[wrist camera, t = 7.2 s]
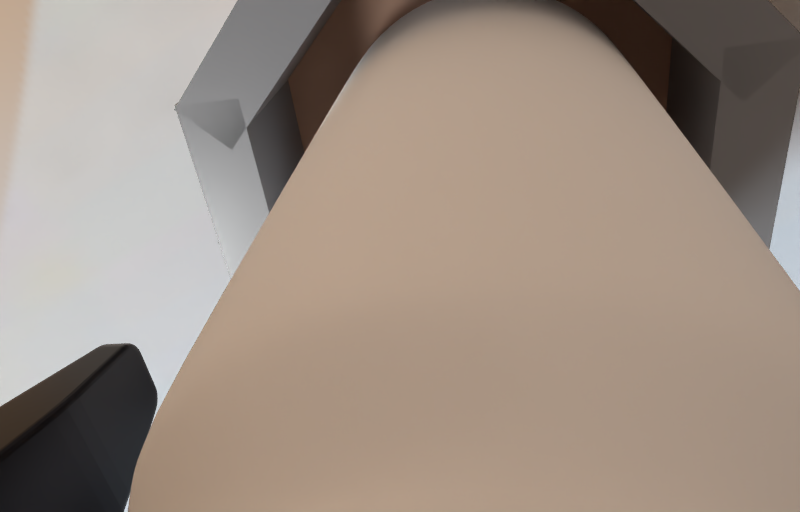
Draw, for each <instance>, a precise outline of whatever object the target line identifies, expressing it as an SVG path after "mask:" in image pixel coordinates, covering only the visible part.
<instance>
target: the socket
mask: <svg viewBox="0 0 800 512" xmlns="http://www.w3.org/2000/svg"><path fill="white" fill-rule="evenodd" d="M429 1H432V0H238V1H237V3H236V4H235V6H234V8H233V9H232V11H231V13H230V15H229V16H228V18H227V20H226V22H225V23H224V25H223V27H222V28H221V30H220V32H219V34H218V35H217V37H216V39H215V40H214V42H213V44H212V46H211V47H210V49H209V51H208V53H207V54H206V56H205V58H204V59H203V61H202V63H201V65H200V66H199V68H198V70H197V71H196V73H195V75H194V77H193V78H192V80H191V82H190V84H189V85H188V87H187V89H186V90H185V92H184V94H183V96H182V97H181V99H180V101H179V102H178V103H177V104H176V105H175V109H174V110H175V111H177V114H178V117H179V120H180V124H181V127H182V130H183V133H184V136H185V139H186V142H187V145H188V148H189V151H190V154H191V158H192V161H193V164H194V167H195V170H196V173H197V176H198V179H199V182H200V185H201V189H202V192H203V195H204V198H205V201H206V204H207V207H208V210H209V213H210V216H211V220H212V223H213V226H214V229H215V232H216V235H217V238H218V241H219V244H220V247H221V251H222V254H223V257H224V260H225V263H226V266H227V269H228V272H229V275H230V278H232V277H233V275H234V273H235V272H236V270H237V268H238V266H239V265H240V263H241V261H242V259H243V258H244V256H245V254H246V252H247V251H248V249H249V247H250V246H251V244H252V242H253V240H254V239H255V237H256V235H257V233H258V232H259V230H260V228H261V227H262V225H263V223H264V221H265V220H266V218H267V216H268V214H269V213H270V211H271V209H272V208H273V206H274V204H275V202H276V201H277V199H278V197H279V196H280V194H281V192H282V190H283V189H284V187H285V185H286V184H287V182H288V180H289V178H290V177H291V175H292V173H293V172H294V170H295V168H296V167H297V165H298V163H299V161H300V160H301V158H302V156H303V155H304V153H305V151H306V149H307V148H308V146H309V144H310V143H311V141H312V139H313V138H314V136H315V134H316V133H317V131H318V129H319V127H320V126H321V124H322V122H323V121H324V119H325V117H326V116H327V114H328V112H329V110H330V109H331V107H332V105H333V104H334V102H335V100H336V99H337V97H338V95H339V94H340V92H341V90H342V89H343V87H344V85H345V84H346V82H347V81H348V79H349V77H350V76H351V74H352V73H353V71H354V69H355V68H356V66H357V65H358V63H359V62H360V60H361V59H362V57H363V56H364V55H365V53H366V52H367V50H368V49H369V48H370V47H371V45H372V44H373V43H374V42H375V41H376V40H377V39H378V38H379V37H380V36H381V34H382V33H384V32H385V31H386V30H387V29H388V28H389V27H390V26H391V25H392V24H394V23H395V22H396V21H397V20H399V19H400V18H401V17H403V16H404V15H406V14H407V13H409V12H410V11H412V10H414V9H415V8H417V7H419V6H421V5H423V4H425V3H427V2H429ZM557 1H559V2H561V3H563V4H565V5H567V6H569V7H571V8H572V9H574V10H576V11H577V12H579V13H580V14H582V15H583V16H585V17H586V18H587V19H589V20H590V21H591V22H592V23H594V24H595V25H596V26H597V27H598V28H599V29H600V30H601V31H602V32H603V33H604V34H605V35H606V36H607V37H608V38H609V39H610V40H611V42H612V43H613V44H614V45H615V46H616V47H617V49H618V50H619V51H620V52H621V54H622V55H623V56H624V57H625V59H626V60H627V61H628V62H629V64H630V65H631V66H632V67H633V69H634V70H635V71H636V73H637V74H638V75H639V77H640V78H641V79H642V80H643V82H644V83H645V84H646V86H647V87H648V88H649V90H650V91H651V92H652V94H653V95H654V96H655V98H656V99H657V100H658V102H659V103H660V104H661V105H662V107H663V108H664V109H665V111H666V112H667V113H668V115H669V116H670V117H671V119H672V120H673V121H674V123H675V124H676V125H677V127H678V128H679V129H680V131H681V132H682V133H683V135H684V136H685V137H686V139H687V140H688V141H689V143H690V144H691V145H692V147H693V148H694V149H695V151H696V152H697V153H698V155H699V156H700V157H701V159H702V160H703V161H704V163H705V164H706V165H707V167H708V168H709V169H710V171H711V172H712V173H713V175H714V176H715V177H716V179H717V180H718V181H719V183H720V184H721V185H722V187H723V188H724V189H725V191H726V192H727V193H728V195H729V196H730V197H731V199H732V200H733V202H734V203H735V204H736V206H737V207H738V208H739V210H740V211H741V212H742V214H743V215H744V216H745V218H746V219H747V220H748V222H749V223H750V225H751V226H752V227H753V229H754V230H755V231H756V233H757V234H758V235H759V237H760V238H761V239H762V241H763V242H764V243H765V245H766V246H767V247H768V249H769V248H770V243H771V237H772V232H773V227H774V221H775V216H776V211H777V205H778V200H779V195H780V189H781V184H782V179H783V173H784V168H785V163H786V157H787V152H788V147H789V141H790V136H791V131H792V125H793V120H794V115H795V109H796V104H797V99H798V93H799V88H800V32H799V31H798V30H797V29H796V28H795V27H794V26H793V25H792V24H791V23H790V22H789V21H788V20H787V19H786V18H785V17H784V16H783V15H782V14H781V13H780V12H779V11H778V10H777V9H776V8H775V7H774V6H773V5H772V4H771V3H770V2H769V1H768V0H557Z"/></svg>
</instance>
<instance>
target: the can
mask: <svg viewBox="0 0 800 512" xmlns="http://www.w3.org/2000/svg"><path fill="white" fill-rule="evenodd" d="M128 512H800V291H799V290H798V288H797V287H796V285H795V284H794V283H793V281H792V280H791V279H790V277H789V276H788V274H787V273H786V272H785V270H784V269H783V268H782V266H781V265H780V264H779V262H778V261H777V260H776V258H775V257H774V256H773V254H772V253H771V252H770V250H769V249H768V247H767V246H766V245H765V243H764V242H763V241H762V239H761V238H760V237H759V235H758V234H757V233H756V231H755V230H754V229H753V227H752V226H751V225H750V223H749V222H748V220H747V219H746V218H745V216H744V215H743V214H742V212H741V211H740V210H739V208H738V207H737V206H736V204H735V203H734V202H733V200H732V199H731V197H730V196H729V195H728V193H727V192H726V191H725V189H724V188H723V187H722V185H721V184H720V183H719V181H718V180H717V179H716V177H715V176H714V175H713V173H712V172H711V171H710V169H709V168H708V167H707V165H706V164H705V163H704V161H703V160H702V159H701V157H700V156H699V155H698V153H697V152H696V151H695V149H694V148H693V147H692V145H691V144H690V143H689V141H688V140H687V139H686V137H685V136H684V135H683V133H682V132H681V131H680V129H679V128H678V127H677V125H676V124H675V123H674V121H673V120H672V119H671V117H670V116H669V115H668V113H667V112H666V111H665V109H664V108H663V107H662V105H661V104H660V103H659V102H658V100H657V99H656V98H655V96H654V95H653V94H652V92H651V91H650V90H649V88H648V87H647V86H646V84H645V83H644V82H643V80H642V79H641V78H640V77H639V75H638V74H637V73H636V71H635V70H634V69H633V67H632V66H631V65H630V64H629V62H628V61H627V60H626V59H625V57H624V56H623V55H622V54H621V52H620V51H619V50H618V49H617V47H616V46H615V45H614V44H613V43H612V42H611V40H610V39H609V38H608V37H607V36H606V35H605V34H604V33H603V32H602V31H601V30H600V29H599V28H598V27H597V26H596V25H595V24H594V23H592V22H591V21H590V20H589V19H587V18H586V17H585V16H583V15H582V14H580V13H579V12H577V11H576V10H574V9H572V8H571V7H569V6H567V5H565V4H563V3H561V2H559V1H557V0H432V1H429V2H427V3H425V4H423V5H421V6H419V7H417V8H415V9H414V10H412V11H410V12H409V13H407V14H406V15H404V16H403V17H401V18H400V19H399V20H397V21H396V22H395V23H394V24H392V25H391V26H390V27H389V28H388V29H387V30H386V31H385V32H384V33H382V34H381V36H380V37H379V38H378V39H377V40H376V41H375V42H374V43H373V44H372V45H371V47H370V48H369V49H368V50H367V52H366V53H365V55H364V56H363V57H362V59H361V60H360V62H359V63H358V65H357V66H356V68H355V69H354V71H353V73H352V74H351V76H350V77H349V79H348V81H347V82H346V84H345V85H344V87H343V89H342V90H341V92H340V94H339V95H338V97H337V99H336V100H335V102H334V104H333V105H332V107H331V109H330V110H329V112H328V114H327V116H326V117H325V119H324V121H323V122H322V124H321V126H320V127H319V129H318V131H317V133H316V134H315V136H314V138H313V139H312V141H311V143H310V144H309V146H308V148H307V149H306V151H305V153H304V155H303V156H302V158H301V160H300V161H299V163H298V165H297V167H296V168H295V170H294V172H293V173H292V175H291V177H290V178H289V180H288V182H287V184H286V185H285V187H284V189H283V190H282V192H281V194H280V196H279V197H278V199H277V201H276V202H275V204H274V206H273V208H272V209H271V211H270V213H269V214H268V216H267V218H266V220H265V221H264V223H263V225H262V227H261V228H260V230H259V232H258V233H257V235H256V237H255V239H254V240H253V242H252V244H251V246H250V247H249V249H248V251H247V252H246V254H245V256H244V258H243V259H242V261H241V263H240V265H239V266H238V268H237V270H236V272H235V273H234V275H233V277H232V278H231V280H230V282H229V284H228V285H227V287H226V289H225V291H224V292H223V294H222V296H221V298H220V299H219V301H218V303H217V305H216V306H215V308H214V310H213V312H212V314H211V315H210V317H209V319H208V321H207V322H206V324H205V326H204V328H203V329H202V331H201V333H200V335H199V336H198V338H197V340H196V342H195V344H194V345H193V347H192V349H191V351H190V352H189V354H188V356H187V358H186V359H185V361H184V363H183V365H182V367H181V369H180V371H179V372H178V374H177V376H176V378H175V380H174V382H173V384H172V386H171V388H170V389H169V391H168V393H167V395H166V397H165V399H164V401H163V403H162V405H161V406H160V408H159V410H158V412H157V414H156V417H155V419H154V421H153V423H152V426H151V428H150V430H149V433H148V435H147V438H146V440H145V442H144V445H143V447H142V450H141V452H140V455H139V458H138V460H137V464H136V467H135V471H134V475H133V480H132V485H131V492H130V499H129V507H128Z"/></svg>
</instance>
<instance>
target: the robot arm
mask: <svg viewBox="0 0 800 512" xmlns="http://www.w3.org/2000/svg"><path fill="white" fill-rule="evenodd" d="M156 407H157V390H156V387H155V385H154V382H153V380H152V378H151V375H150V373H149V371H148V369H147V366H146V364H145V362H144V360H143V357H142V355H141V353H140V351H139V349H138V348H137V347H136V346H135V345H133V344H129V343H124V344H105V345H102V346H100V347H98V348H96V349H94V350H93V351H91V352H89V353H88V354H86V355H84V356H83V357H81V358H80V359H78V360H76V361H75V362H73V363H71V364H70V365H68V366H66V367H65V368H63V369H61V370H60V371H58V372H56V373H55V374H53V375H52V376H50V377H48V378H47V379H45V380H43V381H42V382H40V383H38V384H37V385H35V386H33V387H32V388H30V389H28V390H27V391H25V392H23V393H22V394H20V395H19V396H17V397H15V398H14V399H12V400H10V401H9V402H7V403H5V404H4V405H2V406H0V512H124V509H125V506H126V503H127V501H128V498H129V495H130V492H131V485H132V480H133V475H134V471H135V467H136V464H137V460H138V458H139V455H140V452H141V450H142V447H143V445H144V442H145V440H146V438H147V435H148V433H149V430H150V427H151V424H152V421H153V417H154V414H155V411H156Z"/></svg>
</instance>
